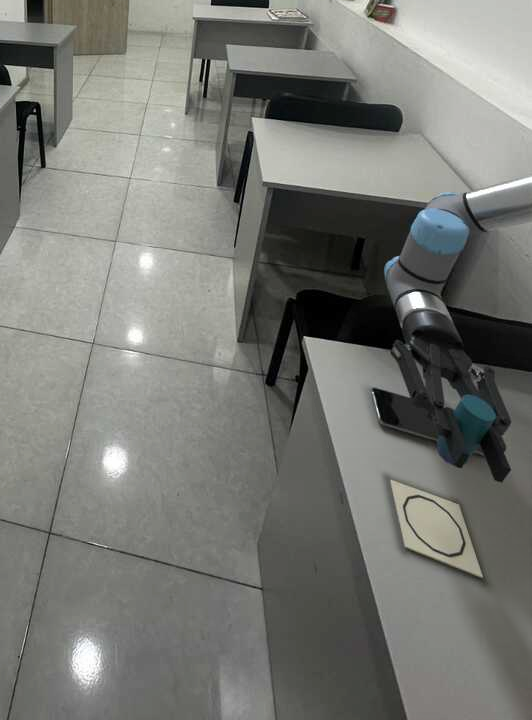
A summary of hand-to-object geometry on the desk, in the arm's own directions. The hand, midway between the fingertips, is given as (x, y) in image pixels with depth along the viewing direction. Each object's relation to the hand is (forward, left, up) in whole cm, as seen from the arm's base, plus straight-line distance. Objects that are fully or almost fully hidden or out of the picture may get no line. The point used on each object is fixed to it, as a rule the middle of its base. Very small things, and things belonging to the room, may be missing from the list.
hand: (482, 467), depth 59 cm
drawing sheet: (-1, -3, -17) cm, 17 cm away
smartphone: (-4, -20, -17) cm, 27 cm away
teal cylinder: (0, -5, -6) cm, 8 cm away
